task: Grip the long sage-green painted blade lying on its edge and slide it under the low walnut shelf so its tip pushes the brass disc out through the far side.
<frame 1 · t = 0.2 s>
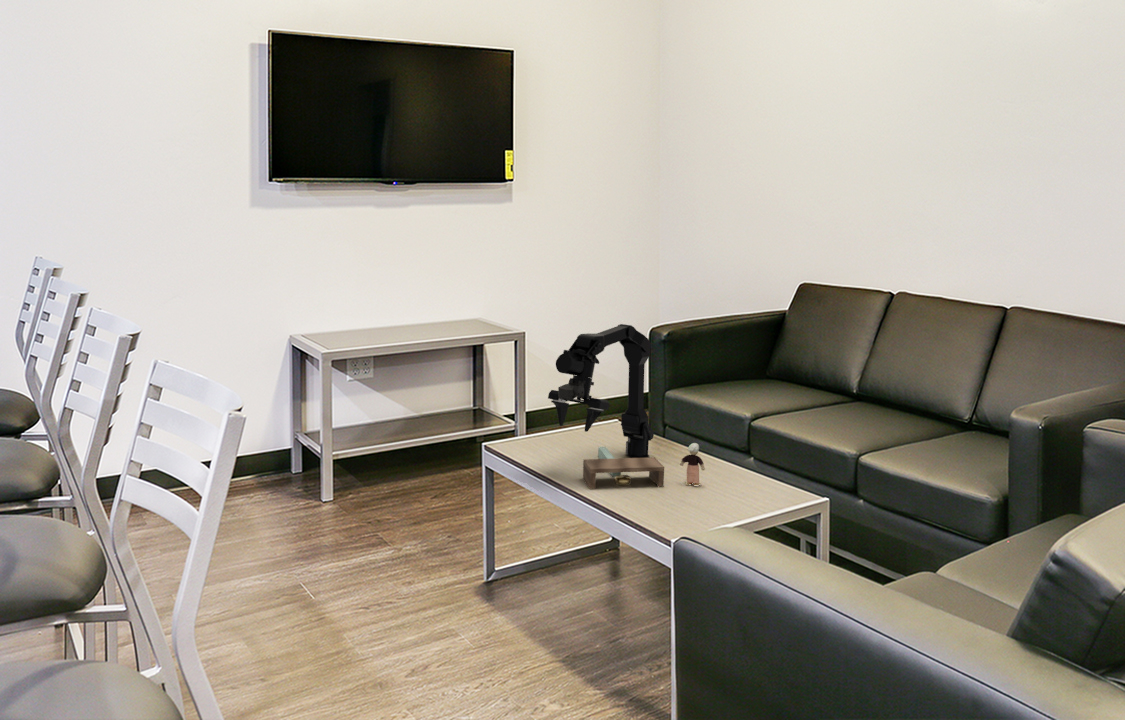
hand: (573, 428, 280), 15 cm above the table, tool pointing down, fingers open, 9 cm apart
green blade: (609, 467, 296), on the table
brass disc: (622, 483, 280), on the table
walnut shelf: (622, 482, 280), on the table
grandmother figurine: (691, 485, 280), on the table
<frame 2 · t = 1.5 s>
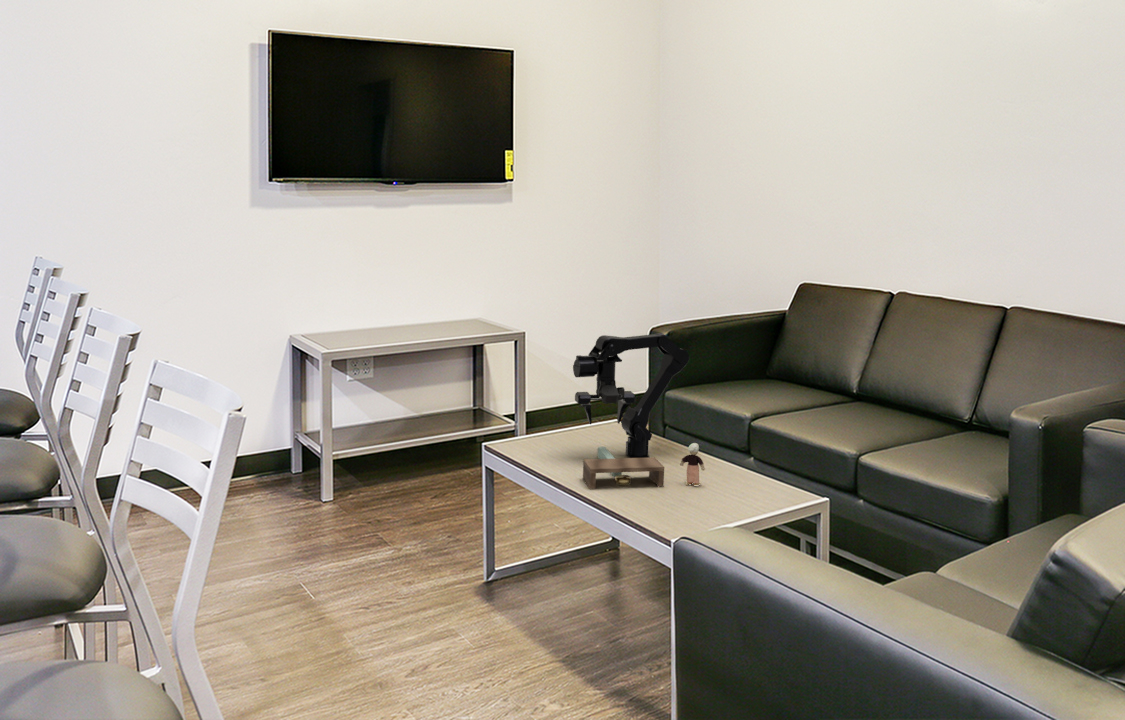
hand: (604, 423, 302), 12 cm above the table, tool pointing down, fingers open, 9 cm apart
nothing on the table moved.
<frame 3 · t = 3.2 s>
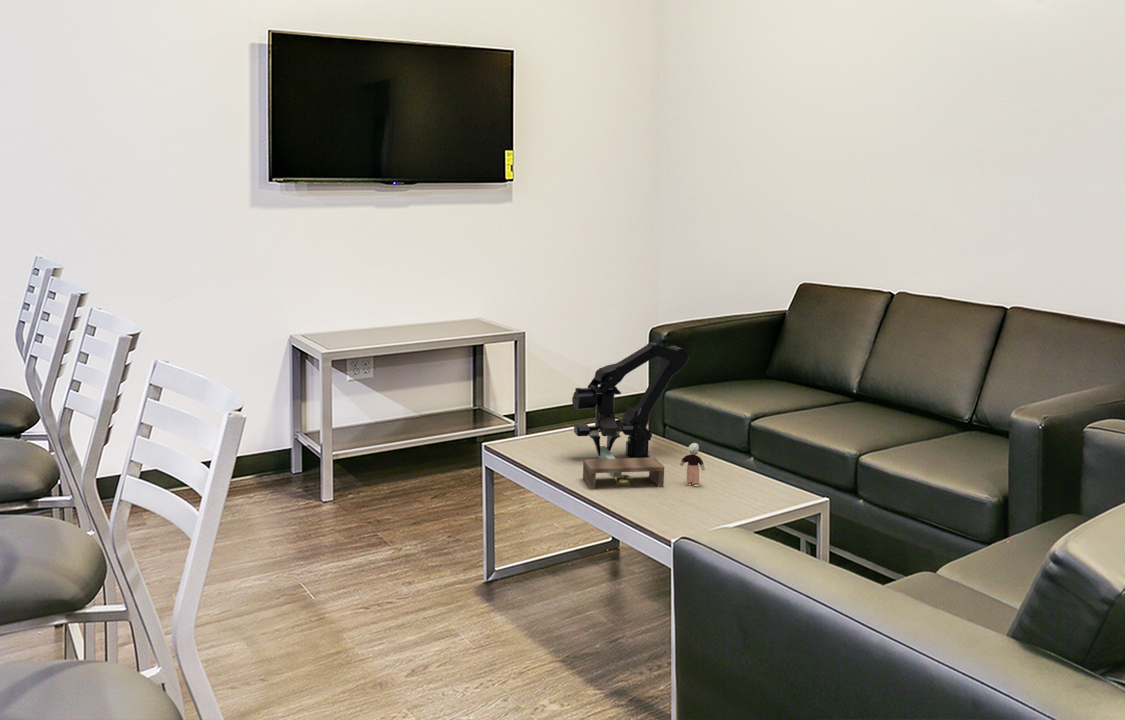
hand: (603, 455, 304), 1 cm above the table, tool pointing down, fingers closed on green blade, 2 cm apart
green blade: (609, 466, 296), on the table, touching gripper
everything else where it was.
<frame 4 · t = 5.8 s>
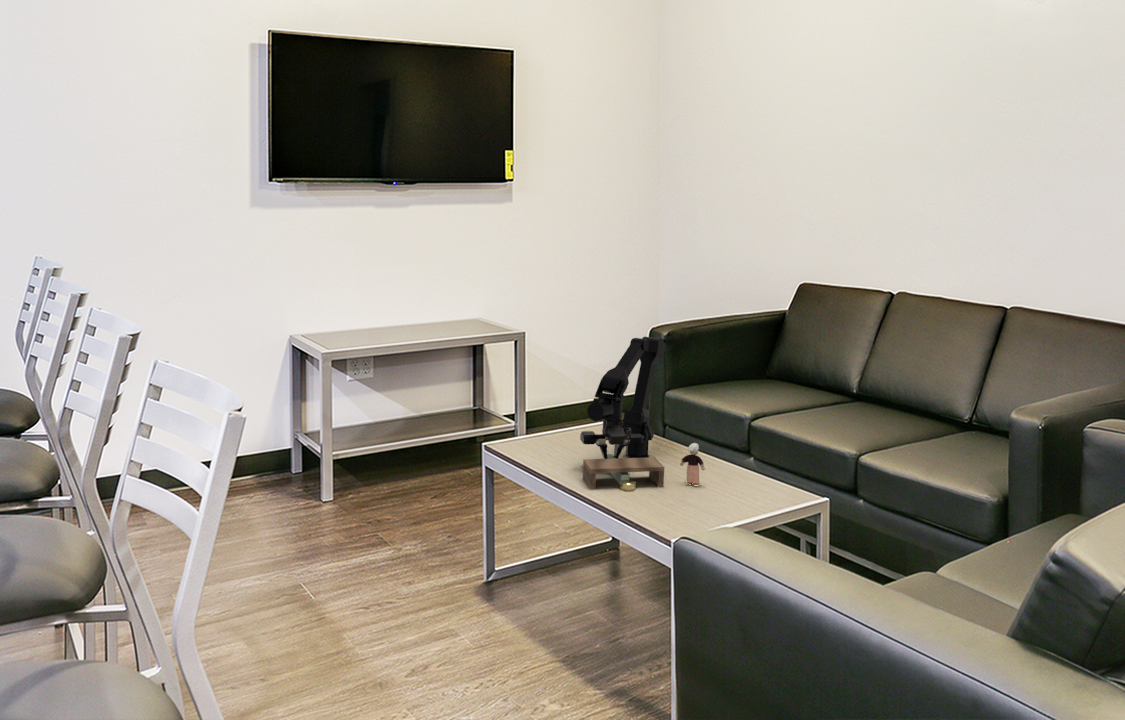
hand: (610, 464, 294), 1 cm above the table, tool pointing down, fingers closed on green blade, 2 cm apart
green blade: (616, 475, 287), on the table, touching brass disc, gripper
brass disc: (627, 489, 274), on the table, touching green blade
everything else where it was.
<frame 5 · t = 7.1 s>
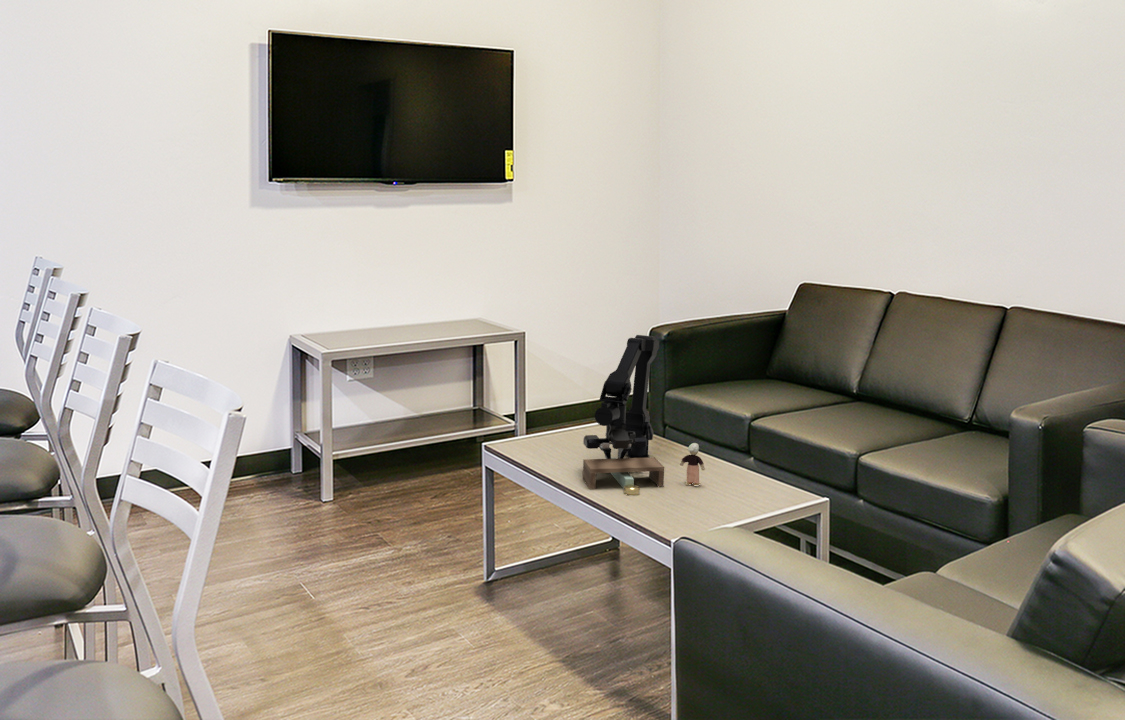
hand: (614, 468, 290), 1 cm above the table, tool pointing down, fingers closed on green blade, 2 cm apart
green blade: (619, 479, 283), on the table, touching brass disc, gripper
brass disc: (631, 493, 271), on the table, touching green blade
everything else where it was.
when the fingers open (1 cm above the table, at t = 7.2 s): green blade stays where it is, on the table.
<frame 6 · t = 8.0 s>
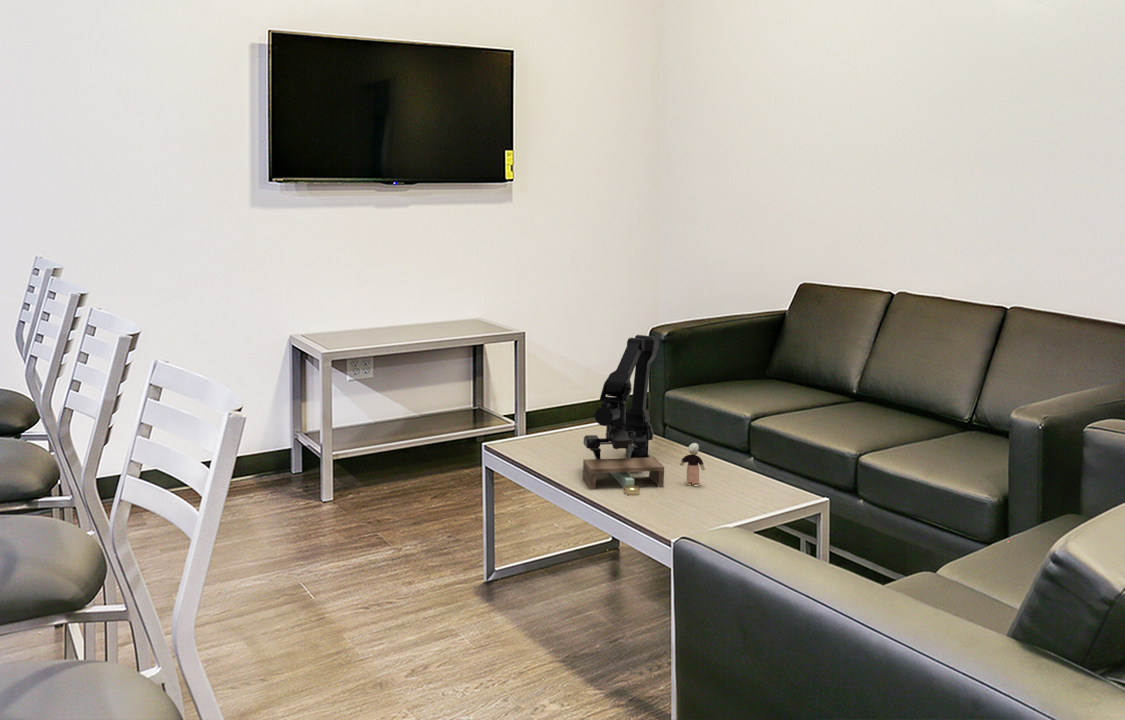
hand: (614, 468, 290), 1 cm above the table, tool pointing down, fingers open, 9 cm apart
green blade: (619, 480, 283), on the table
brass disc: (631, 493, 271), on the table
everything else where it was.
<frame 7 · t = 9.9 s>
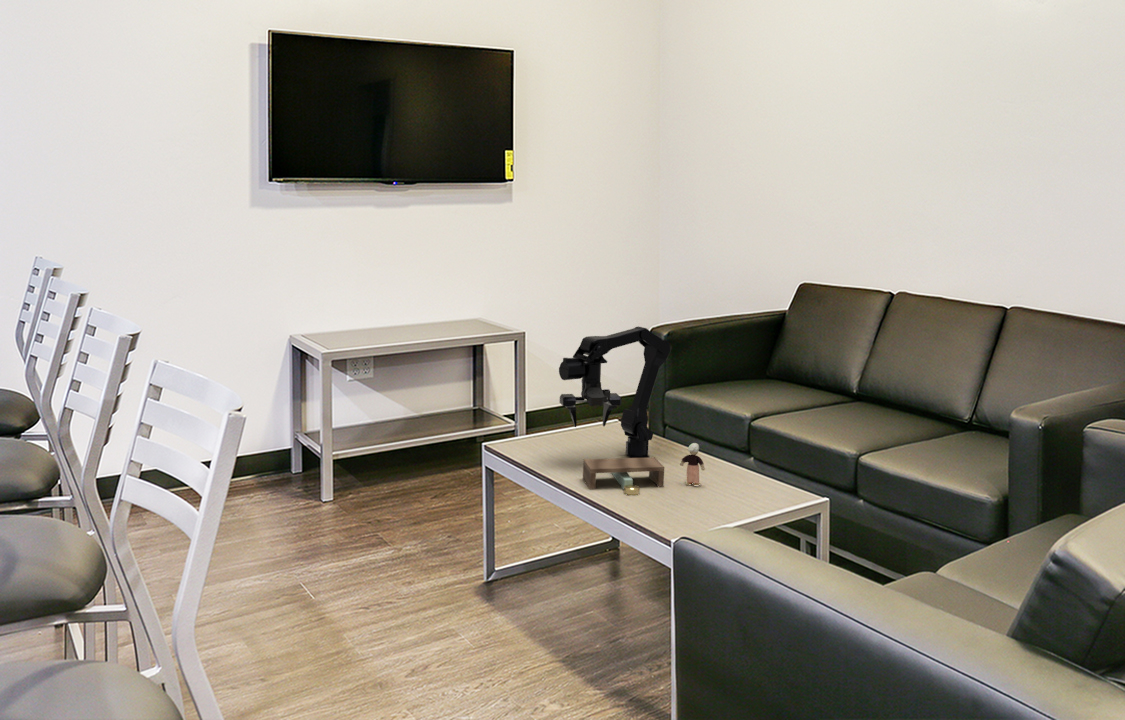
hand: (589, 426, 296), 12 cm above the table, tool pointing down, fingers open, 9 cm apart
nothing on the table moved.
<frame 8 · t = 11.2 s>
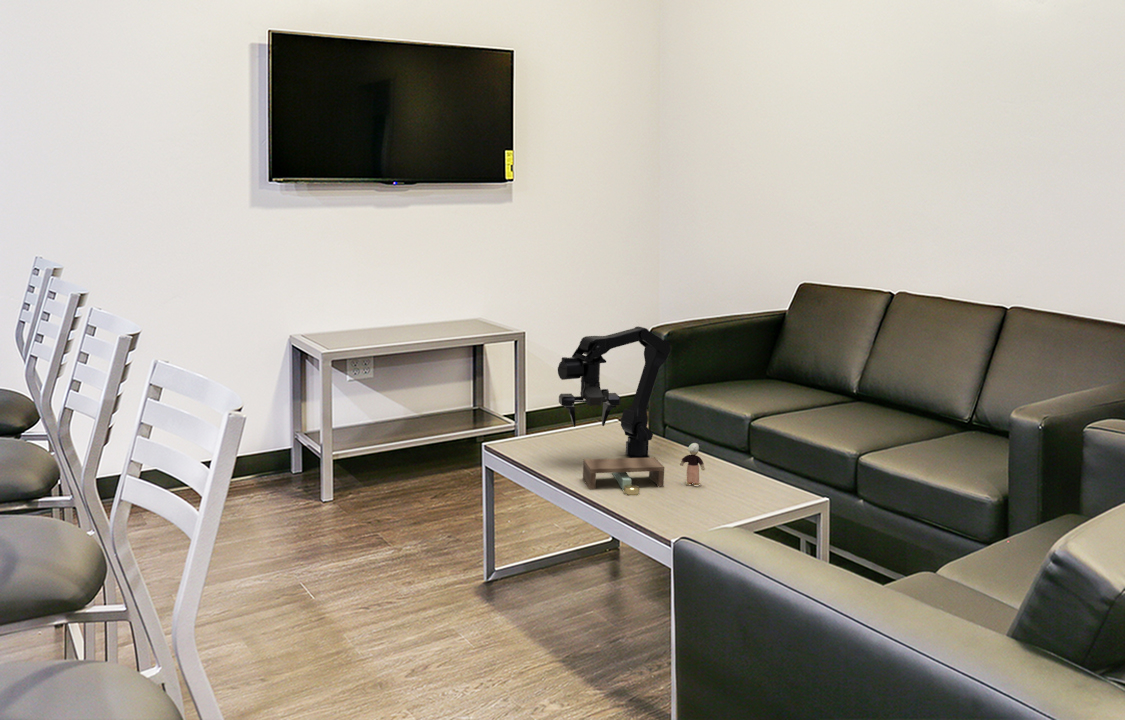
hand: (588, 426, 297), 12 cm above the table, tool pointing down, fingers open, 9 cm apart
nothing on the table moved.
at the end: brass disc inside the target area (4.5 cm from its centre), on the table; brass disc moved 9.7 cm from its start; the gripper is holding nothing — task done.
